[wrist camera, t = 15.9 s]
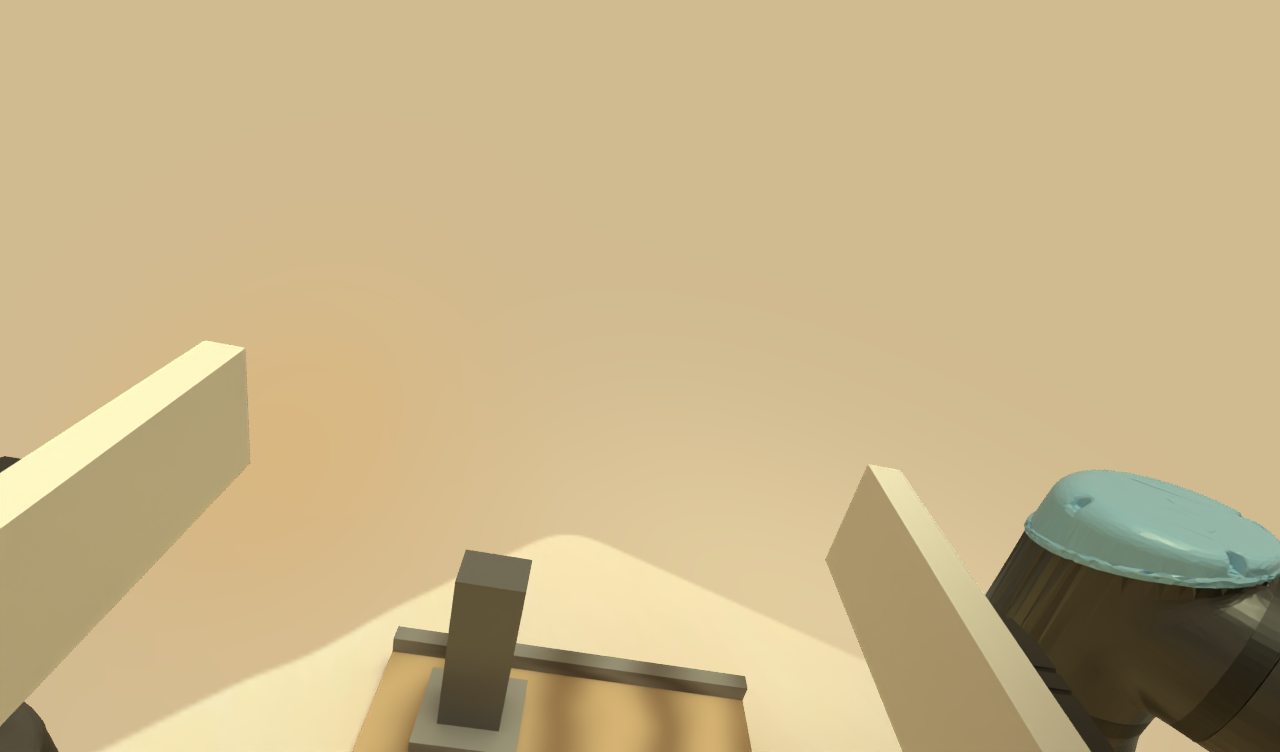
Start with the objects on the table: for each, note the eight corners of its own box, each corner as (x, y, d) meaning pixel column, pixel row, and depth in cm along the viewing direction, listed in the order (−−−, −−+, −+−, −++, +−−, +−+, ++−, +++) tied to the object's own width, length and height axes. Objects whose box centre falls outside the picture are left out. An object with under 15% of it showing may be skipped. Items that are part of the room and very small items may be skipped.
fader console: (730, 708, 47) (745, 671, 45) (757, 879, 37) (778, 839, 36) (396, 662, 44) (399, 620, 43) (330, 833, 35) (331, 787, 33)
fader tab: (525, 690, 42) (556, 547, 37) (513, 766, 37) (546, 615, 32) (431, 677, 41) (449, 530, 36) (407, 753, 36) (424, 597, 31)
